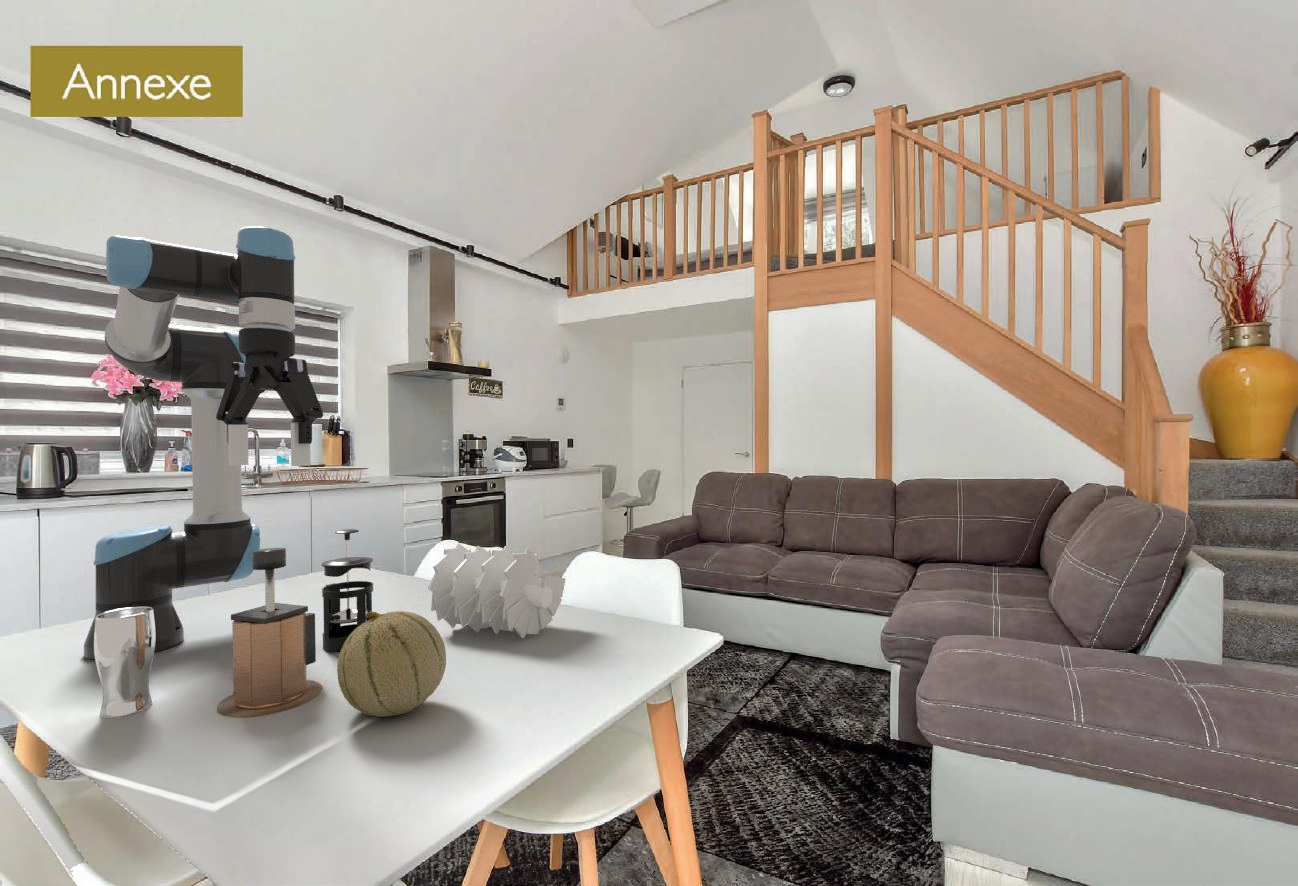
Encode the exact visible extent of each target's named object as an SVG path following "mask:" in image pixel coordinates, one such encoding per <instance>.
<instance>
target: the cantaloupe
mask: <svg viewBox="0 0 1298 886" xmlns="http://www.w3.org/2000/svg"><path fill="white" fill-rule="evenodd" d="M371 617H372V619H370V620H368V621H366V622H365V623H363V624H361V625H360V626H358V627H357V628H356V629H355V630H354V631H353V632H352V633H351V634H350V635H349V637H348V638H347V640H346V641H345V643H344V645H343V647H342V649H341V652H340V653H338V654H339V655H338V659H337V666H336V668H337V669H336V670H337V671H336V673H337V681H338V686H339V689H340V692H341V693H342V696H343V697H344V699H345V700H346V701H347V702H348V703H349V705H351V707H353V708H354V709H355V710H357V711H358V712H360V714H361V713H362V714H364V715H366V716H371V717H381V718H382V717H393V716H399V715H404V714H407V713H409V712H411V711H413V710H414V709H416V708H417V707H418V706H419V705H421V704H423V703H424V702H425V701H426V700H427V699H428V698H429V697H430V696H432V695H433V693H435V691H436V690H437V688H438V687H439V685H440V684H441V682H442V680H443V677H444V674H445V671H446V668H447V667H446V666H447V652H446V646H445V643H444V639H443V638H442V636H441V634H440V633H439V631H438V630H437V628H436V626H434V625H433V623H431V621H429V620H428V619H426V618H425V617H424V616H422V615H420V614H417V613H414V612H410V611H404V610H403V611H402V610H398V611H388V612H386V613H378V612H376V611H372V612H369V613H368V615H367V618H371Z"/></svg>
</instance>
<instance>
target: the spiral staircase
mask: <svg viewBox="0 0 1298 886" xmlns="http://www.w3.org/2000/svg"><path fill="white" fill-rule="evenodd" d="M443 550H444V551H443V556H442V557H441V558H440V559H439V560H438V561H437V562H435V563H434V564H433V566H432V567H433V570H434V575H433V576H432V578H431V581H430V583H429V585H428V590H429V591H430V592H432V595H431V607H430V608H431V609H430V611H431V612H433V611H435V614H436V618H437V619H436V620H437V621H439V622H440V620H442V619H443V621H445V622H446V623H447V624H448V626H450V628H452V629H455V627H456V625H460V626H461V627H463V628H464V627H465V626H466V625H468V626H469V628H471V629H472V630H473V631H474V632H476V633H479V632H480V630H481V629H486V628H491V629H492V630H493V632H494V634H496V635H497V634H499V632H500V631H507V632H514V630H515V631H516V632H517V634H518V635H519V637H521V639H525V637H526V635H539V632H540V630H544V628H546V627H547V626H548V625H549V624H550V623H551V622H552V621H553V617H554V616H555V615H556V613H557V611H558V609H559V607H560V605H561V603H562V601H563V599H562V598H563V594H564V590H565V584H566V578H564V577H558V576H553V575H549V574H548V575H547V574H544V575H543V578H540V577H538V576H537V575H538V574H539V573H540V572H541V569H542V568H541V564H540V560H539V556H538V553H533V552H532V551H531V550H530V549H529V548H528V547H526V548H525V549H524V552H522V553H521V552H520V553H514V552H512V551H511V550H510V548H509V547H508V546H506V545H504V547H503V548H502V550H501V549H499V550H498V549H497V550H496V549H495V550H492V551H491V549H489V548H488V549H484V548H483V547H482V546H480V545H476V548H475V550H473V551H472V549H471V548H469V547H468V548H466V547H465V546H463V545H462V544H461V543H459V542H458V543H457V544H456V547H454V548H453V547H452V548H446V549H443Z"/></svg>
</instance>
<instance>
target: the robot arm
mask: <svg viewBox="0 0 1298 886" xmlns="http://www.w3.org/2000/svg"><path fill="white" fill-rule="evenodd" d="M235 249H236V252H237V254H233V253H228V252H221V251H215V250H214V251H213V250H207V249H203V248H195V247H189V246H185V245H179V244H172V243H167V242H161V241H156V240H151V239H146V238H144V237H129V236H123V235H111V236H109V237H108V238H107V240H106V250H105V251H106V252H105V272H106V273H105V274H106V280H107V281H108V282H109V284H111V285H113V286H116V287H119V288H118V294H117V295H118V297H117V302H116V308H115V315H114V318H112V319H111V320H110V321H109V322H108V323H107V325H106V328H105V330H104V344H105V346H106V349H107V351H108V352H109V355H111V356H112V358H114V360H115V361H117V362H118V363H119V365H121V366H122V367H124V368H126V369H127V370H129V371H131V372H132V373H135V374H137V375H139V376H141V377H143V378H147V379H150V380H154V381H159V382H173V383H174V382H175V383H181V392H182V393H183V394H184V395H186V396H187V398H188V399H190V401H191V402H190V403H191V404H190V405H191V406H190V407H191V448H192V449H191V452H192V453H191V459H192V460H191V462H192V465H191V467H192V469H191V471H192V473H191V474H192V514H191V515H190V516H188V517H187V518H186V519H185V520H184V523H183V530H178V531H176V530H175V531H173V528H172V526H171V525H168V524H162V525H154V526H153V525H152V526H145V527H140V528H135V529H133V528H132V529H129V530H128V529H127V530H124V531H119V532H116V533H112V534H109V535H105V536H104V537H102V538H100V539H99V540H98V541H97V542H96V545H95V551H94V552H95V553H94V554H95V555H94V561H93V563H92V564H93V566H95V614H94V618H93V620H92V622H91V624H90V625H91V626H90V627H89V630H88V632H87V636H86V637H85V641H84V644H83V657H84V658H85V659H88V660H94V661H95V655H94V632H95V622H96V618H95V617H96V616H97V615H99V614H101V613H104V612H108V611H112V610H117V609H122V608H130V607H143V606H145V607H152V608H153V613H154V621H155V633H156V641H155V651H154V653H156V652H159V651H162V650H166V649H169V648H171V647H173V646H176V645H178V644H180V643H182V642H183V640H184V635H185V634H184V633H185V632H184V626H183V624H182V621H181V620H180V617H179V615H178V612H177V610H176V608H175V606H174V603H173V590H175V589H180V588H181V589H182V588H188V587H189V588H190V587H194V586H195V587H196V586H202V585H209V584H216V583H229V582H231V581H237V580H243V579H246V578H248V577H250V576H251V575H252V574H253V573H254V571H255V570H254V569H253V562H252V552H253V551H255V550H260V549H261V537H260V535H261V532H260V531H261V530H260V527H259V526H258V525H257V524H254V523H251V516H250V515H249V514H247V513H246V512H244V511H243V505H242V504H243V503H242V502H243V500H242V499H243V498H242V497H243V496H242V495H243V494H242V493H243V492H242V466H249V424H248V422H247V417H248V416H249V414H250V412H251V411H252V409H253V408H254V405H255V403H256V402H257V400H258V398H259V396H260V395H261V394H263V393H265V391H271V390H273V391H275V392H276V393H277V395H278V396H279V397H280V399H281V401H282V402H283V403H284V406H285V408H287V410H288V412H289V413H290V414H291V416H292V420H291V423H290V466H291V467H302V466H304V467H305V466H306V467H307V466H311V445H312V442H313V423H314V422H315V420H319V419H322V418H324V412H323V409H322V406H321V404H320V401H319V399H318V395H317V394H316V391H315V389H314V386H313V384H312V381H311V378H310V376H309V373H308V365H307V364H308V363H307V360H306V359H302V358H295V357H294V356H295V355H296V335H295V334H294V333H293V331H294V330H295V329H296V308H295V307H296V306H295V260H296V256H295V251H294V241H293V238H292V237H291V236H290V234H287V233H286V232H283V231H281V230H278V229H274V228H270V227H265V226H256V225H255V226H245V227H241V228H240V229H239V231H238V232H237V240H236V244H235ZM180 295H183V296H191V297H200V298H208V299H215V300H224V301H230V302H232V303H233V304H236V305H237V306H238V325H239V326H240V327H242V328H241V329H239V330H238V331H233V330H228V329H223V328H208V327H200V326H199V327H198V326H187V325H176V324H175V325H174V324H171V321H172V318H173V316H174V312H175V309H176V305H177V303H178V300H179V297H180Z"/></svg>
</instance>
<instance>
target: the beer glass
mask: <svg viewBox="0 0 1298 886" xmlns="http://www.w3.org/2000/svg"><path fill="white" fill-rule="evenodd" d="M94 617H95V616H94ZM95 618H96V622H95V632H94V655H95V660H94V661H95V665H96V669H97V673H98V676H99V681H100V685H101V691H102V692H101V693H102V701H101V707H100V712H99V717H100V718H102V719H116V718H117V719H118V718H122V717H126V716H127V717H128V716H131V715H134V714H138V713H141V712H143V711H145V710H147V709H150V708H151V707H152V705H153V704H154V703H153V701H152V700H153V699H152V696H151V695H152V694H151V692H150V678H151V672H152V666H153V661H154V656H155V652H154V651H155V641H156V633H155V621H154V613H153V608H152V607H145V606H143V607H130V608H122V609H117V610H112V611H108V612H104V613H101V614H99V615H97V616H96V617H95Z"/></svg>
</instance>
